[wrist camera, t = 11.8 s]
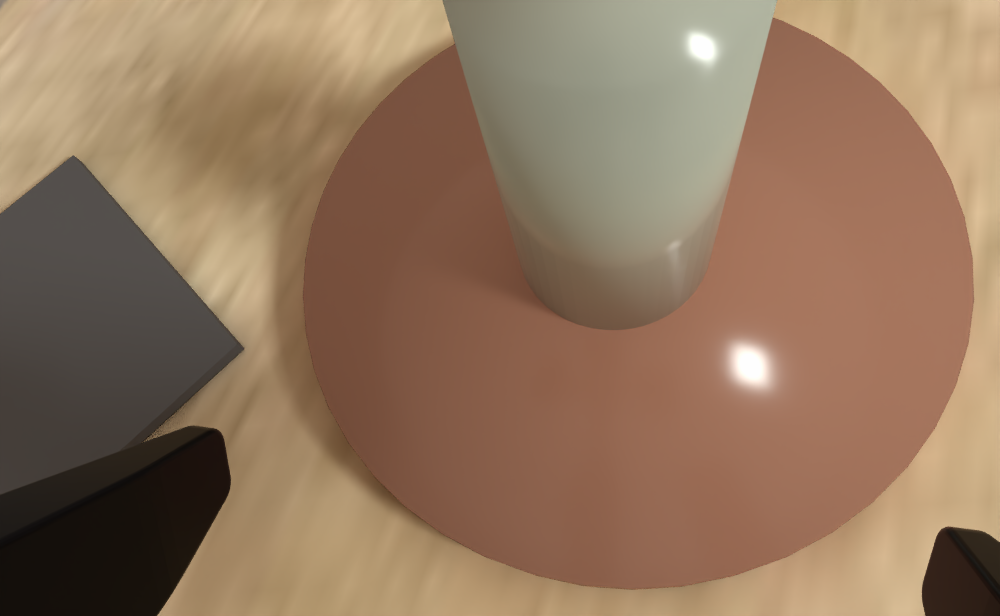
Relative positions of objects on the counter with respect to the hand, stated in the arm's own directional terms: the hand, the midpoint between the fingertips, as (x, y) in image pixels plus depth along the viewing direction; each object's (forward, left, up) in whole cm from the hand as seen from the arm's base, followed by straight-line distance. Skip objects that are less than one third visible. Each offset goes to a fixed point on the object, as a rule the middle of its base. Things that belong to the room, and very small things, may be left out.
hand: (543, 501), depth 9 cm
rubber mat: (-8, +16, -9) cm, 19 cm away
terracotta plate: (+6, +5, -9) cm, 12 cm away
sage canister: (+6, +5, -8) cm, 11 cm away
